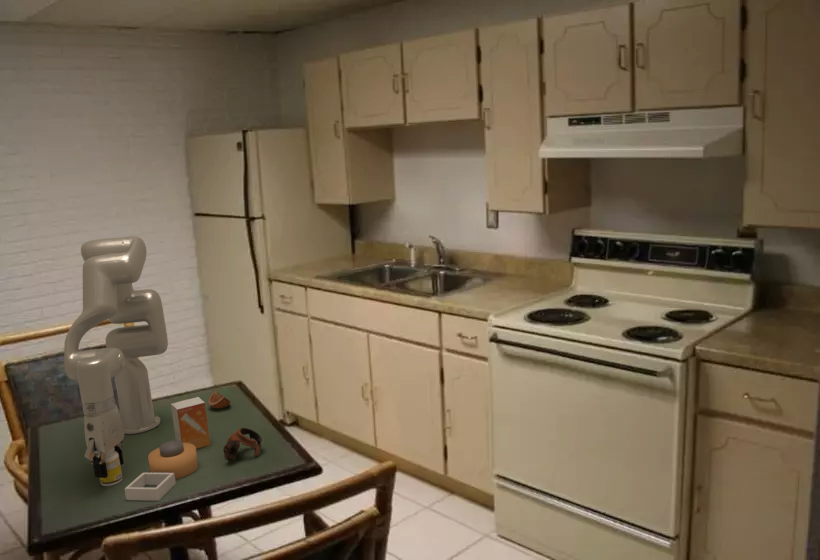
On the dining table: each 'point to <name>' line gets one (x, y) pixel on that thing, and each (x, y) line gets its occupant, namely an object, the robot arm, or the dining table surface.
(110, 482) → the supplement bottle
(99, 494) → the dining table surface
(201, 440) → the small box
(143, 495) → the disc and frame
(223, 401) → the fruit slice
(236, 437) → the brown curved piece
